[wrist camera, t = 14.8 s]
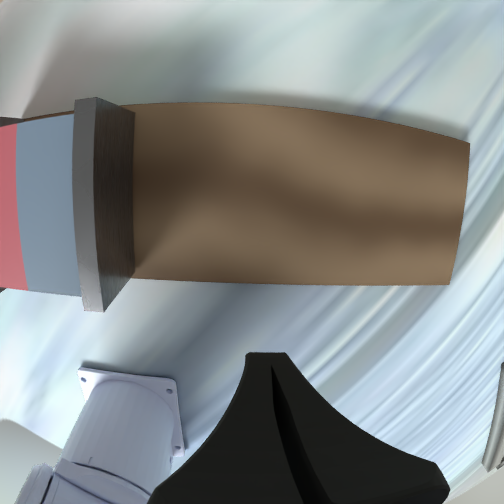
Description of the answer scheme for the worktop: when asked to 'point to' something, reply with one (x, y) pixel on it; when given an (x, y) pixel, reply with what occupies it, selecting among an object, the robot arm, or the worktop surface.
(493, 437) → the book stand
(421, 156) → the book shelf
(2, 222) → the red rectangular block
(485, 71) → the worktop surface
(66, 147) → the slate book
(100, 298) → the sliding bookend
